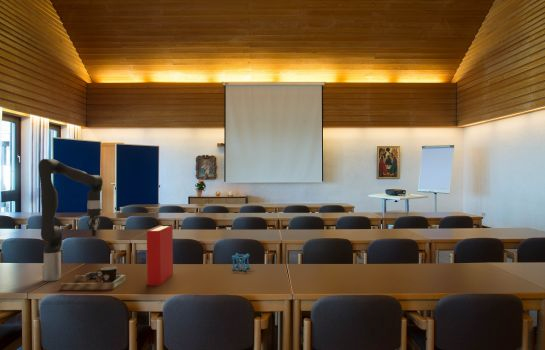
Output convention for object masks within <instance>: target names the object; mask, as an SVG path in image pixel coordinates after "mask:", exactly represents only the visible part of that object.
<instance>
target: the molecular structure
mask: <svg viewBox="0 0 545 350" xmlns="http://www.w3.org/2000/svg"><path fill="white" fill-rule="evenodd" d="M249 257H250V254H249V253H246V254H239V253H235V255H232V256H231V259H232V267H231V270H232V271H235V270H240V271H243V272H246V271H247V269H249V268H250V267H251V266H250V265H249ZM235 260H236V265H235ZM246 261H247V264H246Z"/></svg>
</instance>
